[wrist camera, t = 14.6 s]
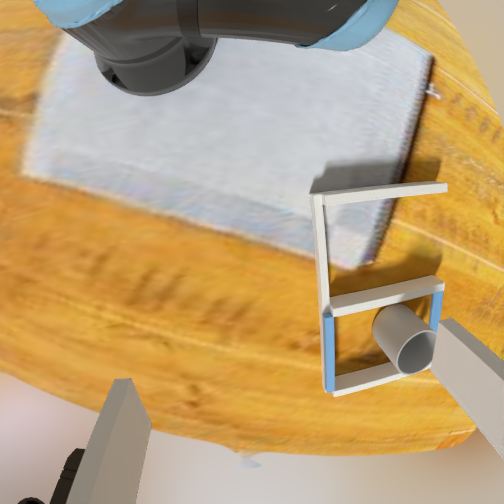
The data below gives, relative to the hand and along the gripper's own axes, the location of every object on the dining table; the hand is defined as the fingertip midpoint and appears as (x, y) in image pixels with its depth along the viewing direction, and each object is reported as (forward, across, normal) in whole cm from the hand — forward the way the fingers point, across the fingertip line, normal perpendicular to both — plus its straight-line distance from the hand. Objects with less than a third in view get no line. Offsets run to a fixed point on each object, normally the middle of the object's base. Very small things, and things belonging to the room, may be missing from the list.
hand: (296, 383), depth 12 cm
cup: (+29, +20, -19) cm, 40 cm away
